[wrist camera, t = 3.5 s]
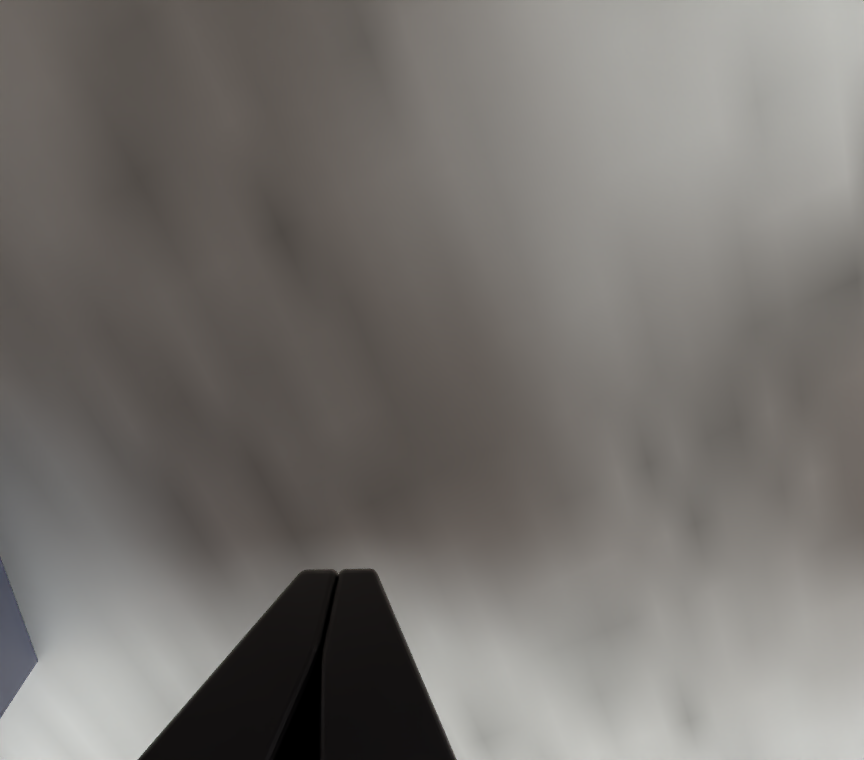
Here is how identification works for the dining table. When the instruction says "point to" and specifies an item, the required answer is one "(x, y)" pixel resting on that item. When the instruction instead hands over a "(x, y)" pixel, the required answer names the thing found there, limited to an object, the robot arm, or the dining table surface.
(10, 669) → the die
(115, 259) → the dining table surface
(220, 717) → the robot arm
